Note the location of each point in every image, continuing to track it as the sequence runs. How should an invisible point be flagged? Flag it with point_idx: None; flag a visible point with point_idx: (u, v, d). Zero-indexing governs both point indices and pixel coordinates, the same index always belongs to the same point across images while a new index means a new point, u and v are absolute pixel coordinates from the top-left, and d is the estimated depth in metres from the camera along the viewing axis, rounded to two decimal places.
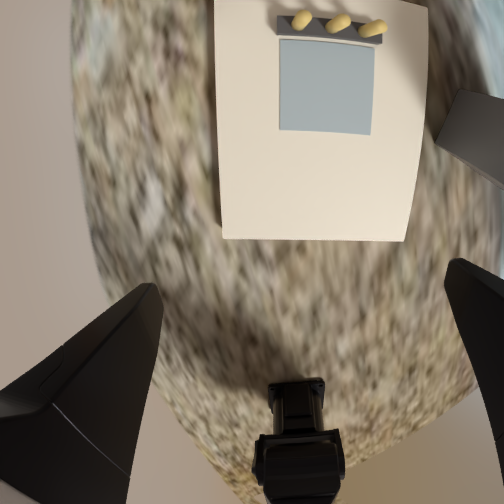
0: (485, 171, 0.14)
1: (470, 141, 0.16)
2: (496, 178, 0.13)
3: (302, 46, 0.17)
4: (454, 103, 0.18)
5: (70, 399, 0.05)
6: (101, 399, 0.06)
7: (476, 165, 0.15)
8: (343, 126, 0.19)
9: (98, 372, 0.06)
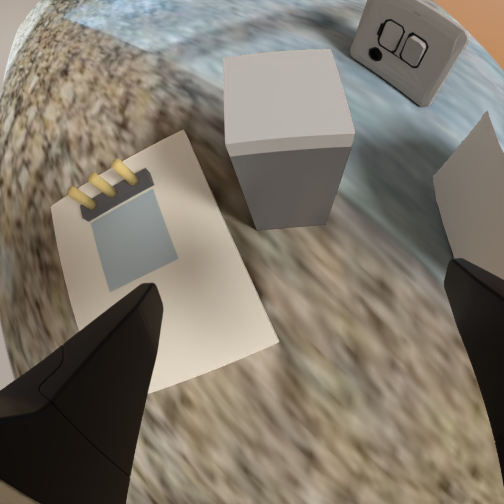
0: (244, 193, 0.17)
1: None
2: None
3: (105, 220, 0.24)
4: None
5: (70, 399, 0.05)
6: (101, 399, 0.06)
7: (246, 200, 0.18)
8: (153, 263, 0.22)
9: (98, 372, 0.06)
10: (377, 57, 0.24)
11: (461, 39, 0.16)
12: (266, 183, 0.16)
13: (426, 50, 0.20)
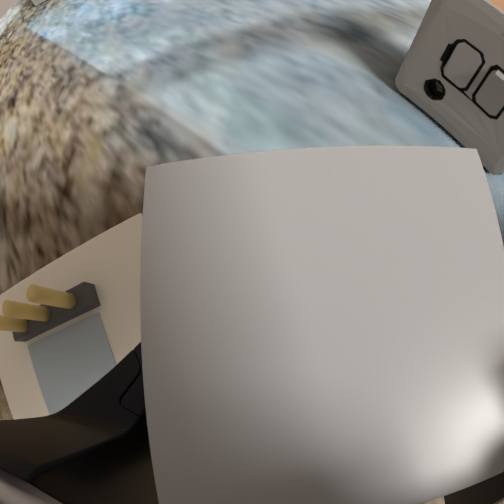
0: None
1: None
2: None
3: (42, 345, 0.15)
4: None
5: None
6: None
7: None
8: None
9: None
10: (434, 93, 0.16)
11: None
12: None
13: None
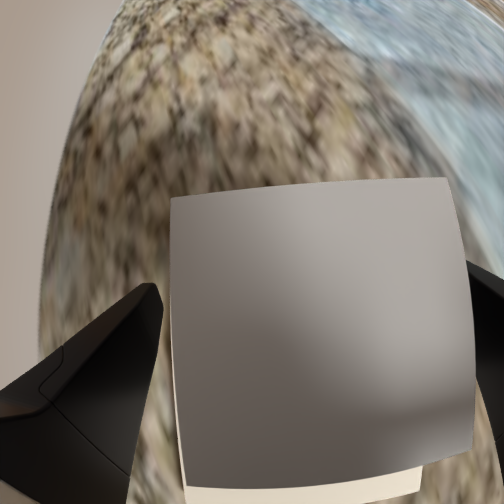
0: None
1: None
2: None
3: None
4: None
5: (70, 399, 0.05)
6: (101, 399, 0.06)
7: None
8: None
9: (98, 372, 0.06)
10: None
11: None
12: None
13: None
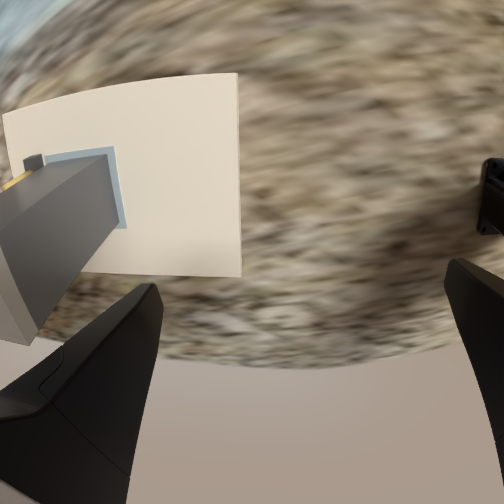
0: (74, 277, 0.16)
1: None
2: (64, 291, 0.15)
3: None
4: None
5: (70, 399, 0.05)
6: (101, 399, 0.06)
7: (81, 267, 0.16)
8: (111, 173, 0.20)
9: (98, 372, 0.06)
10: None
11: None
12: (58, 270, 0.14)
13: None
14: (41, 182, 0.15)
